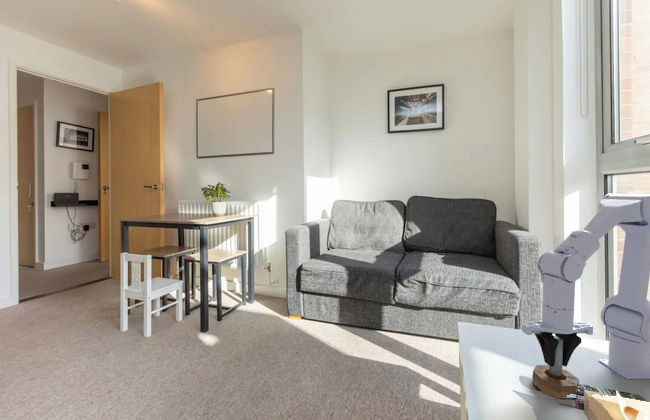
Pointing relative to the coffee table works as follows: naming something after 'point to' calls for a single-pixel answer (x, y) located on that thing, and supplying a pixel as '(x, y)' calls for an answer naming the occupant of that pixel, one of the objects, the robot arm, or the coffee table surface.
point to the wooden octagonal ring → (555, 382)
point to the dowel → (557, 359)
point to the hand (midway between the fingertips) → (555, 364)
